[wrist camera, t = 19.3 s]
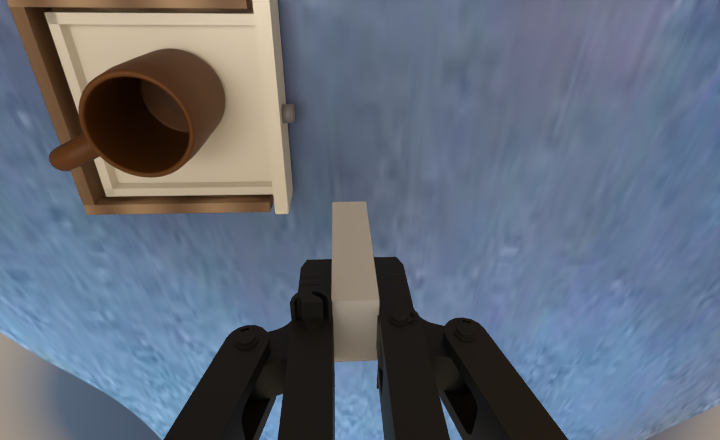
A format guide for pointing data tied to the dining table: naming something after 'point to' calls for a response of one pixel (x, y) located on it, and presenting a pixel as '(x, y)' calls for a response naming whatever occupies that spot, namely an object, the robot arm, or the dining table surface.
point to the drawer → (239, 80)
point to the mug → (146, 115)
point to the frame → (38, 42)
